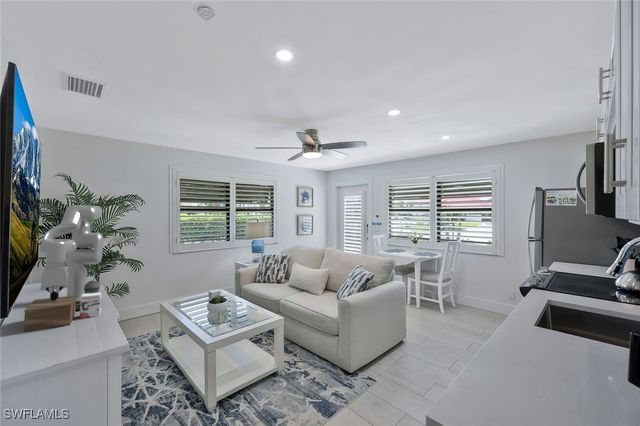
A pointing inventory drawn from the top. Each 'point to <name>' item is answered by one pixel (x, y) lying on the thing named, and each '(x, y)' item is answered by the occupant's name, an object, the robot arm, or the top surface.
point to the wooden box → (49, 318)
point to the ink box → (90, 305)
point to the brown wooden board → (51, 303)
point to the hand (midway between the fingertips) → (54, 299)
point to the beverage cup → (91, 286)
